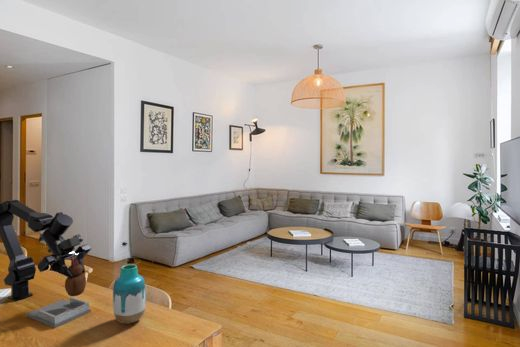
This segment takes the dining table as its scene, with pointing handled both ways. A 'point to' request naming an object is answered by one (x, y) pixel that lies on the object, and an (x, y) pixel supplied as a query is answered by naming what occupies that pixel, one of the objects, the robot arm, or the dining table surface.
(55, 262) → the robot arm
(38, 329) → the dining table surface
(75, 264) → the wooden figurine
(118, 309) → the vase
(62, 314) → the grey shallow rectangular tray
